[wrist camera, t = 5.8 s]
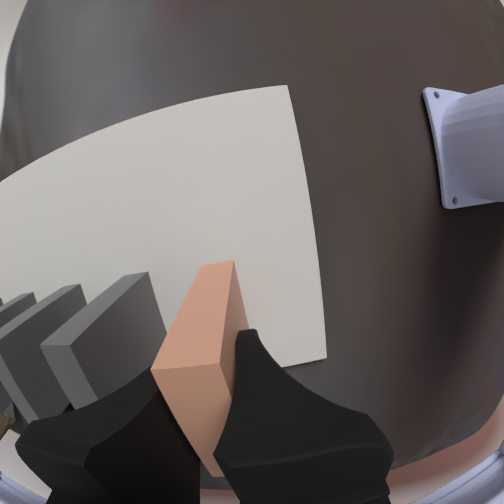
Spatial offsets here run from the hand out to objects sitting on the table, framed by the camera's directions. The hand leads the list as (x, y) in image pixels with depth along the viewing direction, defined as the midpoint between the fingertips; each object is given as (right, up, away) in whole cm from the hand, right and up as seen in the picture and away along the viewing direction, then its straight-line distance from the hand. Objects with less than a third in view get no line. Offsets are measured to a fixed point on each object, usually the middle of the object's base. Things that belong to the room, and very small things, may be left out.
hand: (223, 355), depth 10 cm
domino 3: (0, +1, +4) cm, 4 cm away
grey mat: (-9, +3, +5) cm, 11 cm away
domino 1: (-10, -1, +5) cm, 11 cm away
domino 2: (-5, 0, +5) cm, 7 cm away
